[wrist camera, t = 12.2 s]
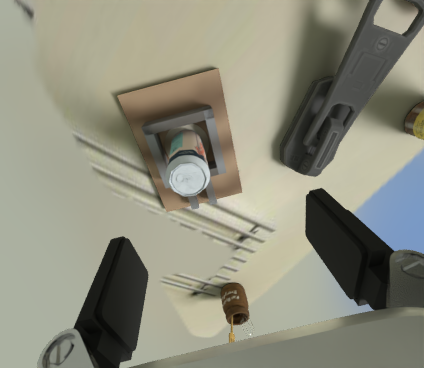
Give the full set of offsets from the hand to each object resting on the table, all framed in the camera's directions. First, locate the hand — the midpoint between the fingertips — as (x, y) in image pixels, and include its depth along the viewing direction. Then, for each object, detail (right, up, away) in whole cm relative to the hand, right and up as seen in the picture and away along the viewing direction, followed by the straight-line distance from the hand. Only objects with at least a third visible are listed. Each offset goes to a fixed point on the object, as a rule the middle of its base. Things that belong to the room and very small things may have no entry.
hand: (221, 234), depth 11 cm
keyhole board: (-4, +8, +23) cm, 25 cm away
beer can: (-4, +9, +22) cm, 24 cm away
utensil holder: (+4, -24, +42) cm, 48 cm away
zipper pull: (+17, +16, +22) cm, 32 cm away
